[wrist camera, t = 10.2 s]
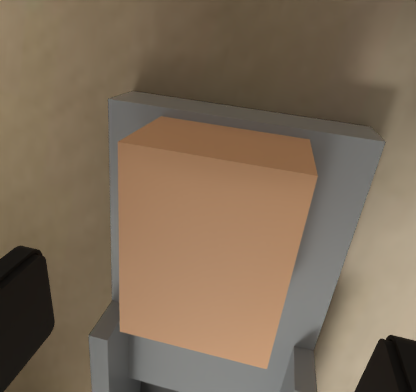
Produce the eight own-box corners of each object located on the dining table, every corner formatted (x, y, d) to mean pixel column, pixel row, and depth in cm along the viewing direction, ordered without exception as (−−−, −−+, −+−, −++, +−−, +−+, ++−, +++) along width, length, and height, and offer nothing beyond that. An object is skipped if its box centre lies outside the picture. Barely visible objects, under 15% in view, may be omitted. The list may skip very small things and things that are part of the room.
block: (154, 272, 17) (119, 331, 14) (161, 116, 14) (117, 141, 10) (271, 298, 17) (266, 369, 13) (309, 139, 13) (318, 176, 10)
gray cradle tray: (128, 428, 28) (98, 501, 24) (132, 90, 16) (74, 109, 12) (261, 468, 26) (256, 555, 22) (370, 126, 15) (406, 163, 10)
